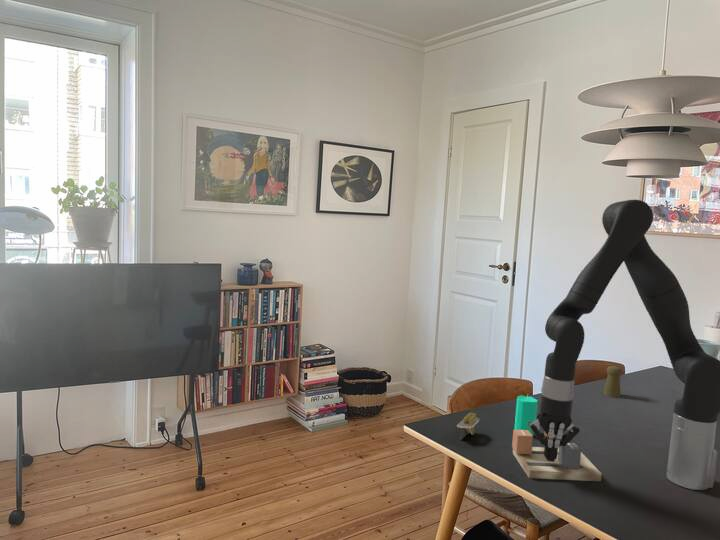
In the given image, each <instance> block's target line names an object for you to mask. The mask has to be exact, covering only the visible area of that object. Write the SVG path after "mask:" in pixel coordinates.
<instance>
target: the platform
mask: <svg viewBox="0 0 720 540" xmlns="http://www.w3.org/2000/svg"><path fill="white" fill-rule="evenodd" d="M479 422H480V418H478V417H477V414H476V413H473V412H469V413H468V414H466V415H465V416H464V417H463V419H461V421H460V422H459V423H457V424H456V427H457V428H460V436H459V437H460V438H459V440H460V441H462V440H463V439H464V438H465V437H466V436H467V435H470V434H471V436H472V435H474V434H475V426H476V425H477V424H478V423H479ZM469 433H470V434H469Z"/></svg>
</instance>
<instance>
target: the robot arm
mask: <svg viewBox="0 0 720 540" xmlns="http://www.w3.org/2000/svg"><path fill="white" fill-rule="evenodd" d="M601 222H602V226H603V229H604V231H605V233H606V235H607V238H606V239H605V242H604V243H603V245H602V246H601V248H600V249H599V250H598V252H597V253H596V254H595V255H594V256H593V257H592V259H591V260H590V261H589V262H588V263H587V264H586V265H585V267H584V268H583V269H582V270H581V271H580V272H579V274H578V276H577V277H576V279H575V281H574V283H573V284H572V286H571V287H570V290H569V291H568V293H567V295H566V296H565V298H564V299H563V300H562V301H560V303H559V304H558V305H557V306H556V307H555V308H554V310H553V311H552V312H550V313H551V314H549V316H548V318H547V320H546V322H545V325H544V326H545V327H544V328H545V329H544V331H545V335H546V336H547V337H548V339H549V340H551V341H553V342H555V344H554V350H553V351H552V352H550V353H548V354H547V356H546V359H545V365H544V366H545V367H544V374H543V375H544V376H543V380H542V385H541V390H540V391H541V396H540V403H539V413H538V415H536V420H535V421H534V422H529V423H528V425H529V427H530V428H531V430H532V431H533V433H534V436H535V438H536V439H537V440H538V442H539V443H540V444H541V445H542V446H544V447H545V449H544V456H545V458H546V459H547V460H548V461H551V462H554V460H555V459H556V458H557V452H558V448H559V447H560V446H566V445H567V444H568V443H571V441H572V440H573V439H574V438H575V437H576V436H577V435H578V434H579V433H580V431H581V429H580V428H579V427H578V426H577V425H576V424H574V423H573V419H572V417H571V416H572V411H573V402H574V393H575V374H576V364H577V361H578V359H579V357H580V354H581V351H582V348H583V346H584V343H585V330H584V326H583V325H582V323H581V322H580V321H579V319H580V318H581V317H582V316H583V315H587V314H591V313H592V312H593V311H594V310H595V308H596V306H597V304H598V303H599V301H600V299H601V298H602V296H603V294H604V293H605V291H606V289H607V287H608V285H609V284H610V283H611V281H612V279H613V277H614V276H615V274H616V273H617V272H618V270H619V268H620V267H621V265H622V264H623V263H624V265H625V267H626V269H627V271H628V275H630V278H631V280H632V282H633V284H634V286H635V289H636V290H637V293H638V295H639V297H640V300H641V302H642V303H643V305H644V307H645V310H646V311H647V313H648V315H649V317H650V319H651V321H652V323H653V324H654V325H653V326H655V328H656V331H657V332H658V334H659V335H660V338H661V339H662V343H664V346H665V349H666V351H667V355H668V359H669V360H670V363H671V367H672V369H673V372H674V374H675V376H676V377H677V378H678V380H679V381H680V382H682V383H683V384H684V387H683V388H684V389H683V395H682V398H680V399H678V400H676V401H675V402H674V407H673V416H672V424H671V432H670V433H671V435H670V443H669V449H668V457H667V458H668V460H667V467H666V478H667V479H668V480H669V481H671V482H672V483H673V484H675V485H678V486H680V487H681V488H686V489H689V490H693V491H694V490H696V491H705V490H707V489H713V488H714V481H715V474H716V466H717V457H718V451H717V450H716V449H715V441H716V433H717V423H718V416H719V414H720V360H719V358H716V357H714V356H712V355H710V354H708V353H706V352H705V350H704V349H703V347H702V346H701V343H700V342H699V340H698V339H697V337H696V335H695V334H694V331H693V328H692V325H691V319H690V318H691V317H690V306H689V302H688V299H687V297H686V295H685V293H684V290H683V288H682V286H681V284H680V282H679V279H678V278H677V277H676V275H675V274H674V273H673V271H672V270H671V269H670V268H669V266H668V265H666V263H665V262H664V261H663V260H662V259H661V257H659V256H658V255H657V253H656V252H655V251H654V250H653V249H652V248H651V246H650V244H649V242H648V240H647V238H646V236H645V235H646V233H647V232H648V231H649V230H650V228H651V227H652V225H653V222H654V212H653V209H652V207H651V206H650V205H649V204H648V203H647V202H646V201H643V200H642V199H641V200H640V199H628V200H622V201H616V202H614V203H610V204H609V205H608V206H607V207H606V208H605V209H604V211H603V213H602V218H601ZM540 427H541V429H542V430H543V434H544V436H543V435H542V434H541V432H540Z"/></svg>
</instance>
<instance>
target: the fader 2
mask: <svg viewBox="0 0 720 540" xmlns="http://www.w3.org/2000/svg"><path fill="white" fill-rule="evenodd" d="M581 452H582V449H581V448H580V446H578V444H576V443H575V442H569V443H568V444H567V445H566V446H560V447H559V452H558V462H559V463H560V464H561V465H562V467H563V468H574V469H580V458H581Z"/></svg>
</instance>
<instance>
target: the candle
mask: <svg viewBox="0 0 720 540" xmlns="http://www.w3.org/2000/svg"><path fill="white" fill-rule="evenodd" d="M538 402H539V401H538V399H536V398H534V397H532V396H529V394H527V395H526V396H525V395H518V396H517V397H516V405H515V406H516V407H515V418H514V419H515V421H514V429H513V430H528V431H529V432H530V433H531V434H532V436H533V437H534V436H535V434H534V433H533V431H532V430H531V428H530V427H529V425H528V423H529V422H534V421H535V420H537V413H538Z"/></svg>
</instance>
